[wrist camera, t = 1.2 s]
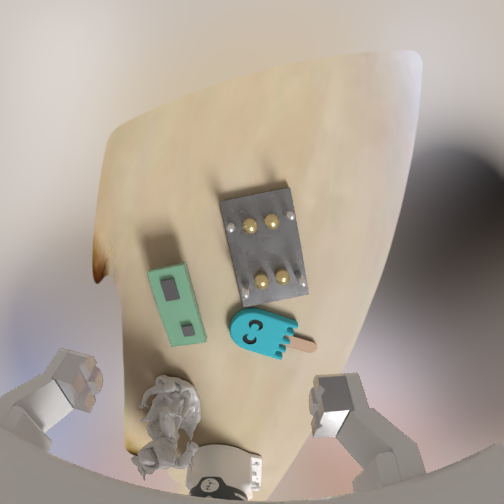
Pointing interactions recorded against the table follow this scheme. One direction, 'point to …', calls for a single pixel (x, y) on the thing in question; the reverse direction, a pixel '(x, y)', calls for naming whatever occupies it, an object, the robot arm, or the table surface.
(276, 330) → the toy
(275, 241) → the chassis
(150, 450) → the figurine
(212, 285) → the table surface
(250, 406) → the table surface
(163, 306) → the board
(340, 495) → the robot arm
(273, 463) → the table surface
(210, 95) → the table surface
